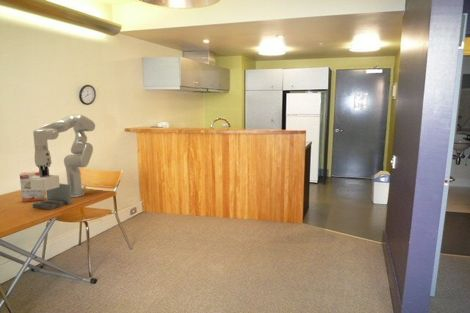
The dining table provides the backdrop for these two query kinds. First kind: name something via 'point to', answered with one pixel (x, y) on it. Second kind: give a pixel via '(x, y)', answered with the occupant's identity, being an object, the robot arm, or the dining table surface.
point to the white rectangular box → (44, 181)
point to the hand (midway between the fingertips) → (44, 175)
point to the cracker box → (26, 189)
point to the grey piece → (55, 198)
